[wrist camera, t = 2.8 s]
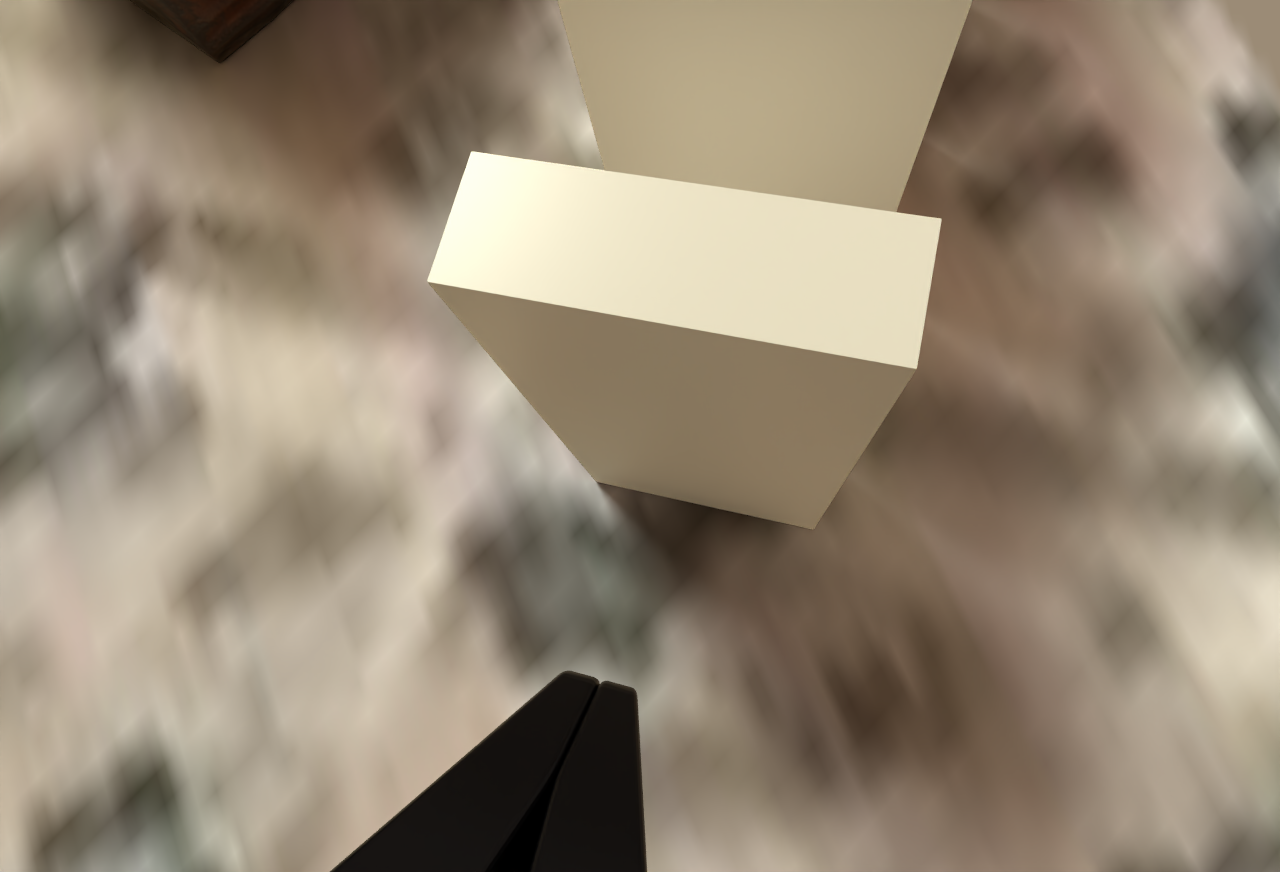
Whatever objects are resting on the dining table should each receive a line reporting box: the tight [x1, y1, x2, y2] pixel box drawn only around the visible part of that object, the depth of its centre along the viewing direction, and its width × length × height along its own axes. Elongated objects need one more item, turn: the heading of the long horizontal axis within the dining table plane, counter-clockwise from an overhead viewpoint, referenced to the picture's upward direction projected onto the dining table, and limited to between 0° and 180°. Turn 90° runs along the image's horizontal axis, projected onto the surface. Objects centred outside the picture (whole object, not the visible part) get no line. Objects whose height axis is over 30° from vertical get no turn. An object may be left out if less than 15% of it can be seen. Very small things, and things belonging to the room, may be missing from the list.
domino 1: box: [557, 0, 973, 212], centre depth 14 cm, size 2×5×10 cm, turn 76°
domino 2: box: [427, 151, 942, 530], centre depth 12 cm, size 2×5×10 cm, turn 76°
